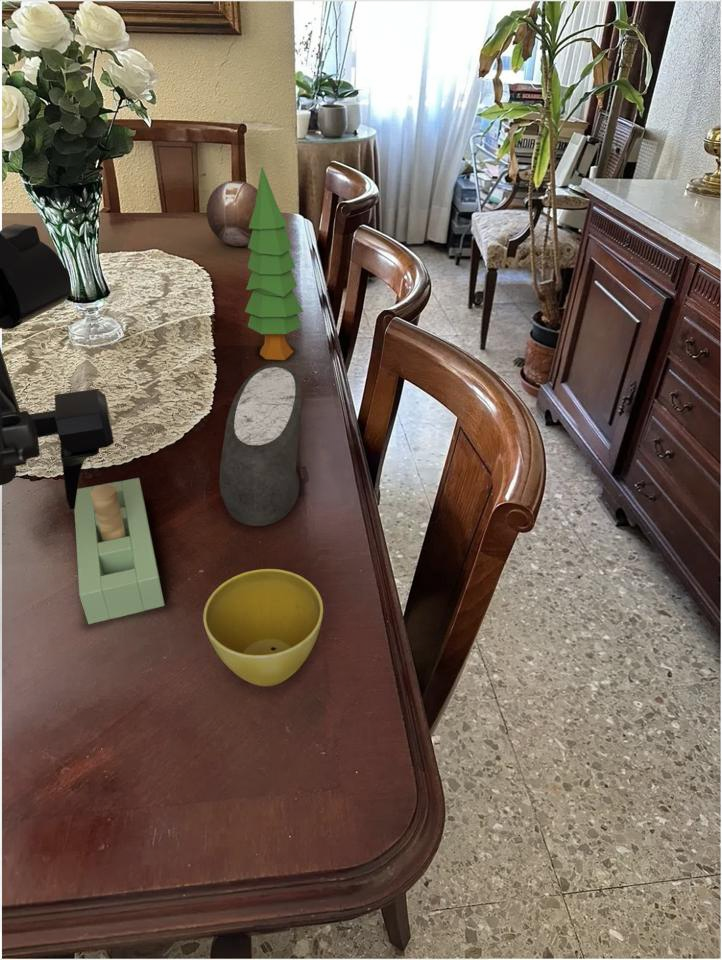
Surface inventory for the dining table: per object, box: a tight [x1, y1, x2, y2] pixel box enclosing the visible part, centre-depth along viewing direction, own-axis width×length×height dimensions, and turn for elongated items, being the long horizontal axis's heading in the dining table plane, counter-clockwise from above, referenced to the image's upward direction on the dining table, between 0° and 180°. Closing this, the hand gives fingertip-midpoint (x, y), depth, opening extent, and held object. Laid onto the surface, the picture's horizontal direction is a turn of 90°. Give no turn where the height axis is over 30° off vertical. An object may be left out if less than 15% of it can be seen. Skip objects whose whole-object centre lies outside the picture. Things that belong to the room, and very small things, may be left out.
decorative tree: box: [244, 166, 304, 361], centre depth 107 cm, size 10×9×30 cm
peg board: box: [74, 477, 166, 625], centre depth 70 cm, size 7×18×4 cm, turn 21°
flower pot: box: [202, 568, 324, 687], centre depth 58 cm, size 10×10×7 cm
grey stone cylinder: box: [219, 363, 303, 527], centre depth 83 cm, size 25×9×9 cm, turn 179°
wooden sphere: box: [206, 180, 258, 248], centre depth 162 cm, size 15×15×15 cm
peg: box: [91, 484, 127, 542], centre depth 69 cm, size 2×2×9 cm
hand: (16, 517), depth 58 cm, fingers open, 9 cm apart
